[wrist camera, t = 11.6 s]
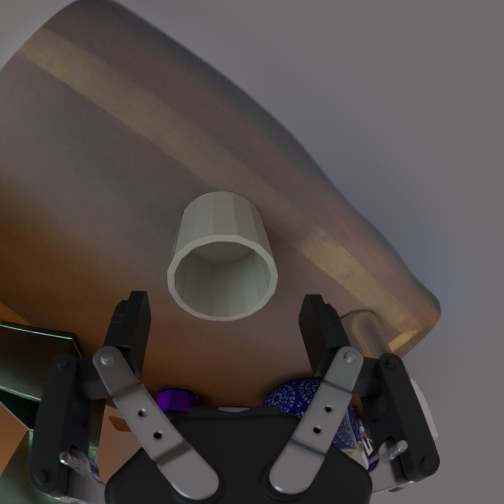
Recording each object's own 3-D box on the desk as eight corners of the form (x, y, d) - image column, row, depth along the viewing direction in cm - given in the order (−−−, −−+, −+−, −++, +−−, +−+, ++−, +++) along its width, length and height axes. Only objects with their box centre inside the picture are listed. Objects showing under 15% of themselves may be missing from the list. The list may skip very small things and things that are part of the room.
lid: (-11, 498, 9) (11, 520, 10) (70, 538, 10) (90, 554, 11) (27, 430, 23) (41, 455, 24) (97, 451, 24) (108, 474, 25)
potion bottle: (135, 381, 30) (125, 470, 20) (202, 379, 31) (205, 475, 21) (157, 411, 35) (154, 484, 25) (215, 409, 36) (220, 486, 26)
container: (165, 207, 19) (148, 256, 14) (248, 179, 19) (261, 219, 14) (197, 273, 22) (194, 330, 17) (271, 250, 22) (287, 305, 17)
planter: (260, 413, 38) (270, 480, 28) (250, 378, 32) (262, 465, 22) (331, 398, 38) (350, 462, 28) (339, 360, 32) (367, 440, 22)
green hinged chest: (1, 320, 23) (-26, 375, 16) (74, 333, 25) (50, 402, 18) (42, 382, 31) (28, 430, 23) (107, 395, 32) (98, 450, 25)
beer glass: (340, 357, 31) (379, 469, 19) (310, 334, 28) (352, 472, 16) (389, 325, 29) (444, 436, 17) (367, 296, 26) (435, 431, 13)
